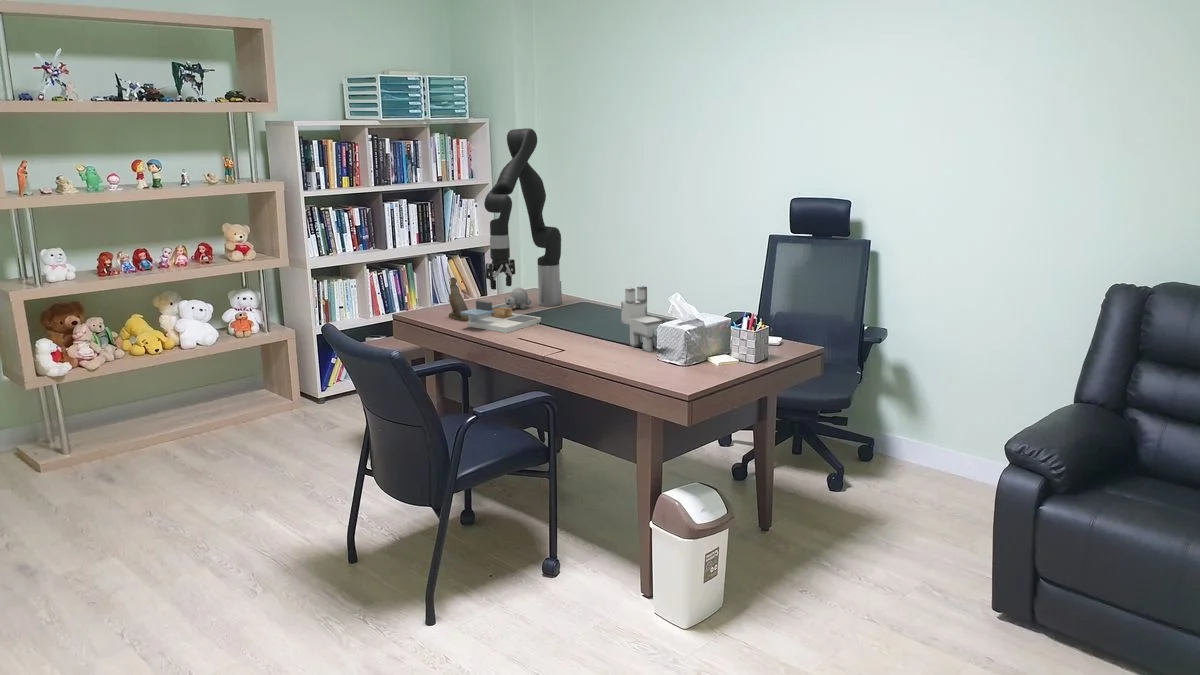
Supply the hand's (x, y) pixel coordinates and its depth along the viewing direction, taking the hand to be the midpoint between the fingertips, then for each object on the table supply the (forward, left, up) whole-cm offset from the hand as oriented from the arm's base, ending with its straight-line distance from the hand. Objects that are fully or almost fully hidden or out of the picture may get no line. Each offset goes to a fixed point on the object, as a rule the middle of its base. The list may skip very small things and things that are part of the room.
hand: (501, 287), depth 342 cm
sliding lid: (+14, 0, -8) cm, 16 cm away
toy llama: (+2, +69, -14) cm, 70 cm away
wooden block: (0, 0, -14) cm, 14 cm away
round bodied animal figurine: (-20, -10, -14) cm, 26 cm away
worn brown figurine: (+6, -17, -14) cm, 23 cm away
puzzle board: (+4, +5, -13) cm, 15 cm away
